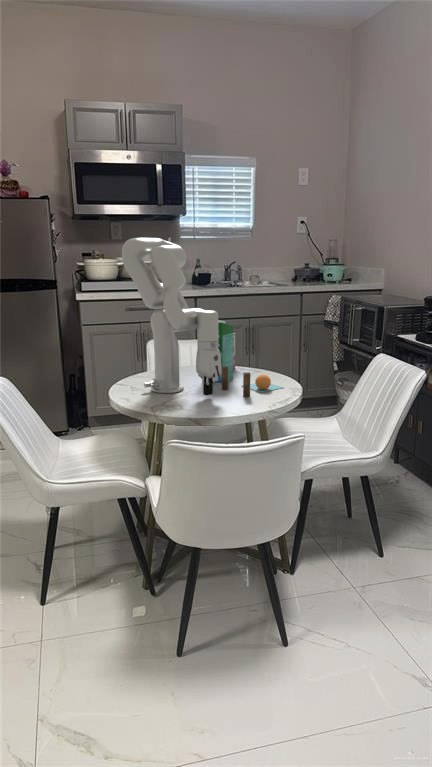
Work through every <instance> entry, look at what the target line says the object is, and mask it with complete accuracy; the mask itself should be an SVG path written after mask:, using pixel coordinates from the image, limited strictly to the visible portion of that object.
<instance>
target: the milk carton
mask: <svg viewBox="0 0 432 767" xmlns="http://www.w3.org/2000/svg"><path fill="white" fill-rule="evenodd" d="M233 333H234V325H233V324H229V323H226V320H219V319H218V350H219V351H220V356H221V368H222V366H228V381H230V380H232V379H234V370H233ZM214 383H220V384H222V374H221V376H218V381H215V382H214Z"/></svg>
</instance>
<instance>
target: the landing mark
mask: <svg viewBox="0 0 432 767" xmlns="http://www.w3.org/2000/svg"><path fill="white" fill-rule="evenodd" d="M241 388H243V385H241ZM281 389H285V387H284V386H281V385H277V384H274V383H271V384H270V386H269V388H267V389H265V390H261V389H259V388H258V387H257V386H256V384H255V383H250V391H251V390H252V391H255V392H258V393H267V392H271V391H276V390H281Z"/></svg>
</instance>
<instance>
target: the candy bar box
mask: <svg viewBox="0 0 432 767" xmlns="http://www.w3.org/2000/svg"><path fill="white" fill-rule="evenodd" d="M235 369H236V333H235V332H233V371H234V370H235Z"/></svg>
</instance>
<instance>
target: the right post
mask: <svg viewBox="0 0 432 767" xmlns="http://www.w3.org/2000/svg"><path fill="white" fill-rule="evenodd" d="M242 375H243V381H242V386H243V387H242V389H243V390H242V391H243V392H242V396H243V398H250V397H251V389H250V384H251V372H250V371H249V372H248V371H246V372H245V371H244V372H243V374H242Z"/></svg>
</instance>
